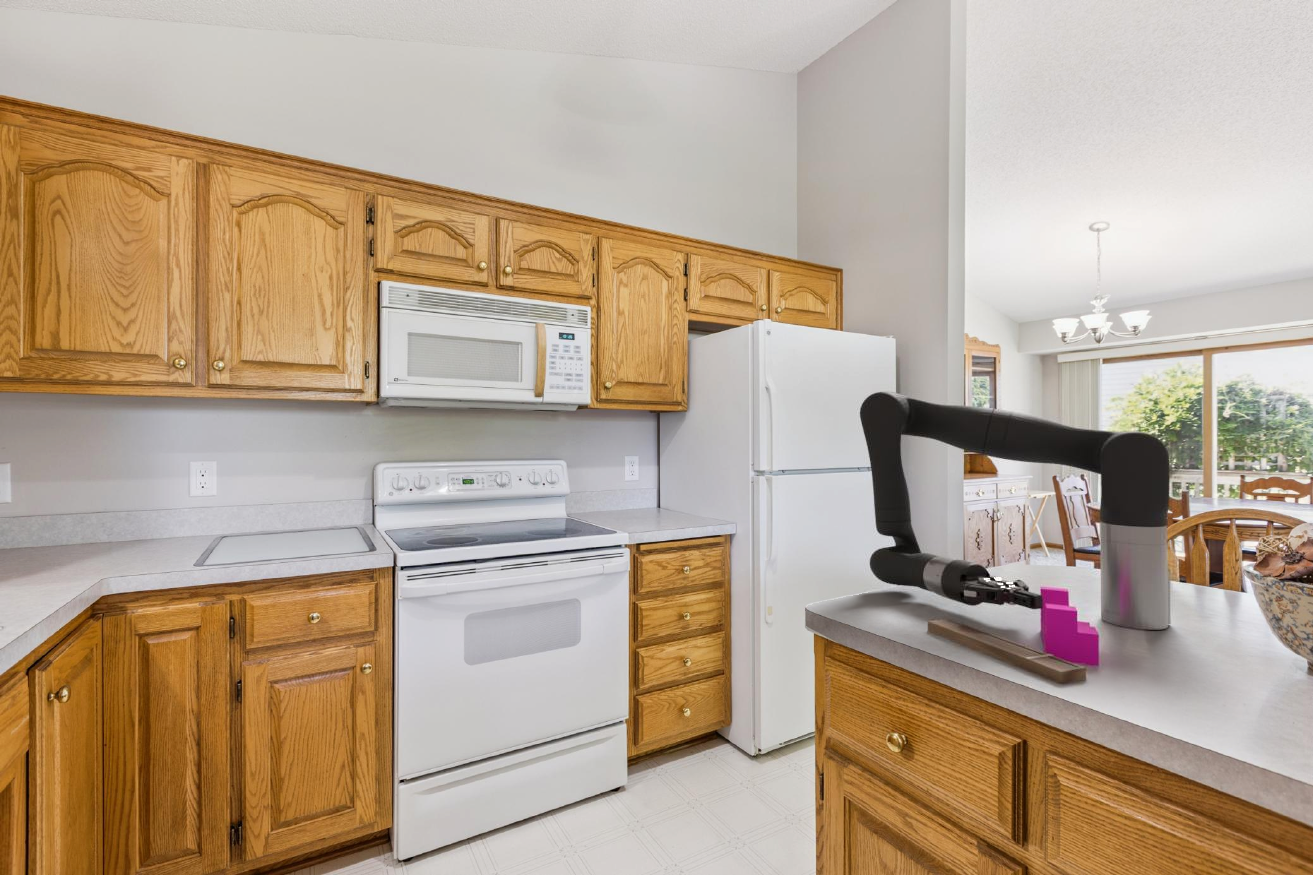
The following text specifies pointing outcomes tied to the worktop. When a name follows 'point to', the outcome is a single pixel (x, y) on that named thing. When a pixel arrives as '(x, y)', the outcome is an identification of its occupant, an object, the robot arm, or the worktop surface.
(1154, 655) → the worktop surface
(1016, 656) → the walnut plank
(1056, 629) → the toy block
